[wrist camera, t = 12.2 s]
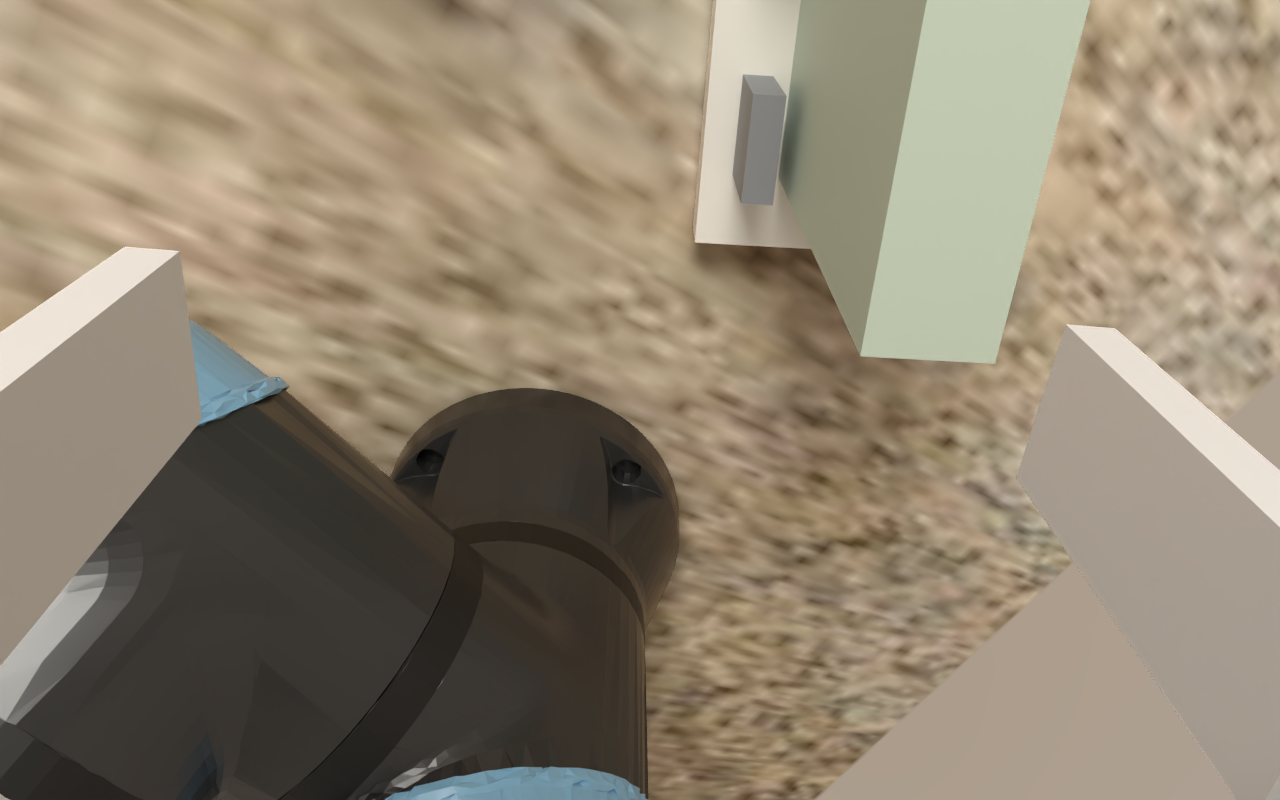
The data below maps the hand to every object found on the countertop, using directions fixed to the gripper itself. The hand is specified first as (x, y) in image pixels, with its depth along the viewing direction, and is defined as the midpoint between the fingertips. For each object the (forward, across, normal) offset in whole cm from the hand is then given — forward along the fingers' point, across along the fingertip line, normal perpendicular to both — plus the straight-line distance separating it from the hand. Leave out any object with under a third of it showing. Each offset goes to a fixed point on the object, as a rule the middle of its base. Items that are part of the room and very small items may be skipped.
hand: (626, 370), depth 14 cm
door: (+26, -8, -4) cm, 28 cm away
